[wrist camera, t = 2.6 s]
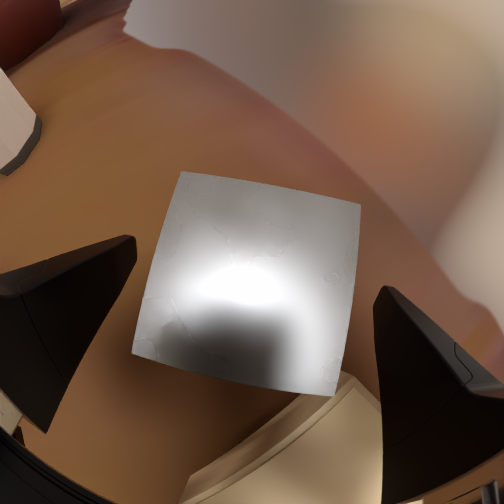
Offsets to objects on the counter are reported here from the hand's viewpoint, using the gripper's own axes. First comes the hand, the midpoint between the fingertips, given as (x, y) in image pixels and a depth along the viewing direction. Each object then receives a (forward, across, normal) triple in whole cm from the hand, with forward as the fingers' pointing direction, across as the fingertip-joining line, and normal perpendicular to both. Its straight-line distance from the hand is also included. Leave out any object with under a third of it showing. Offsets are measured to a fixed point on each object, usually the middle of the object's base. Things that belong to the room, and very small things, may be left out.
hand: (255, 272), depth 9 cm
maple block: (-3, -7, +14) cm, 16 cm away
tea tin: (+5, 0, +6) cm, 8 cm away
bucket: (+34, +60, -23) cm, 73 cm away
